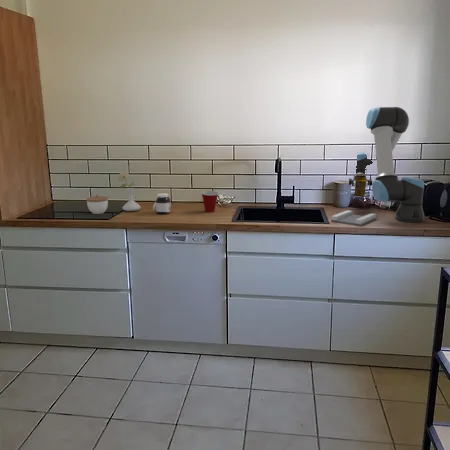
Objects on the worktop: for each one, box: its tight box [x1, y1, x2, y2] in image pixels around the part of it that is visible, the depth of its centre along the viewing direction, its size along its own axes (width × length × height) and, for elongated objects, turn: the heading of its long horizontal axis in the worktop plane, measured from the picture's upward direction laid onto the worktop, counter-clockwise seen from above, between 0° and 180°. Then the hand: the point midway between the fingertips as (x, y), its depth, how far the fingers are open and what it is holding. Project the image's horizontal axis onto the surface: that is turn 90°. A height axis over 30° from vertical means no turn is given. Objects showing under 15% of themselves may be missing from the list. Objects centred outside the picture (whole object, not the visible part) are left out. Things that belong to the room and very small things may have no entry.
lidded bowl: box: [86, 194, 109, 215], centre depth 278 cm, size 13×13×11 cm
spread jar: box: [152, 192, 172, 215], centre depth 277 cm, size 12×11×12 cm
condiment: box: [350, 175, 369, 198], centre depth 267 cm, size 7×8×12 cm
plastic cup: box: [200, 190, 220, 213], centre depth 279 cm, size 11×11×12 cm
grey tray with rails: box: [330, 209, 377, 227], centre depth 253 cm, size 17×20×3 cm
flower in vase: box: [117, 170, 142, 212], centre depth 282 cm, size 13×11×25 cm
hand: (360, 184), depth 262 cm, fingers closed on condiment, 6 cm apart
